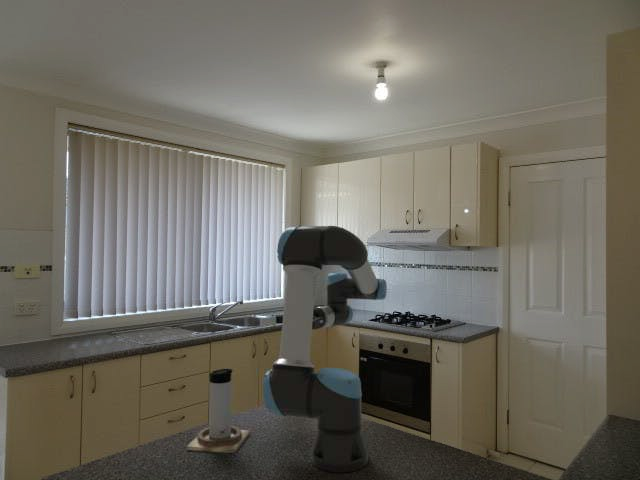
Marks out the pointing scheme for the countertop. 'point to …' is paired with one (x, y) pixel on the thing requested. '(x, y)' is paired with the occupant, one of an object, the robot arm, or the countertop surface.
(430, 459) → the countertop surface
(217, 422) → the travel mug
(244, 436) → the mug stand
